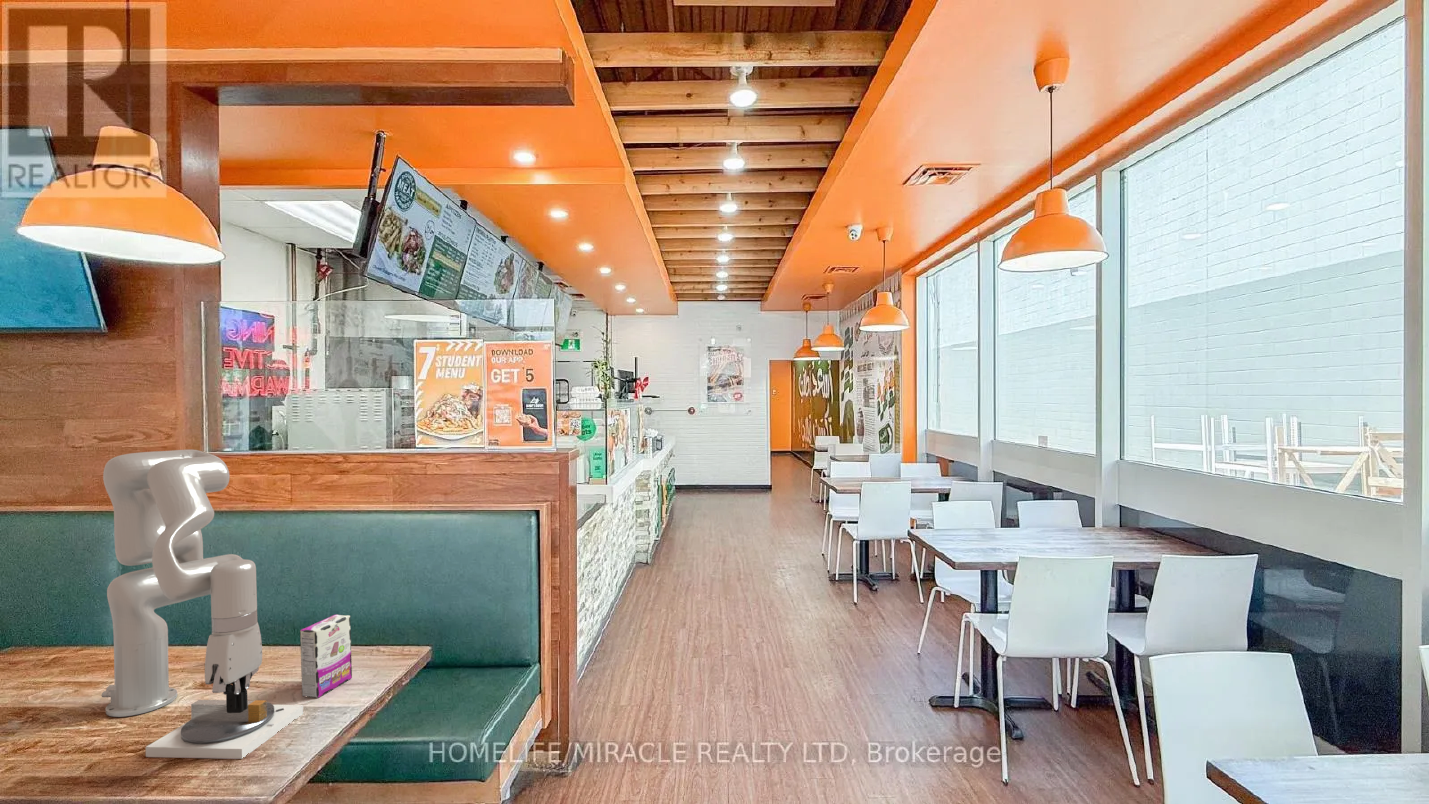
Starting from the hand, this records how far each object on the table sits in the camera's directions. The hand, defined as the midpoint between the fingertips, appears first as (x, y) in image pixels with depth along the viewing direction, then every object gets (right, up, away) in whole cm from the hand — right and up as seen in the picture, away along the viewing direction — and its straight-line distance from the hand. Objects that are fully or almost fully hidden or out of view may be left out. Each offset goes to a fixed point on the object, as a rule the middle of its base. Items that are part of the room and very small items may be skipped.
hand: (237, 710), depth 132 cm
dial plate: (-6, -8, +6) cm, 12 cm away
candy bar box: (+2, -8, +28) cm, 29 cm away
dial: (-6, -6, +6) cm, 10 cm away
